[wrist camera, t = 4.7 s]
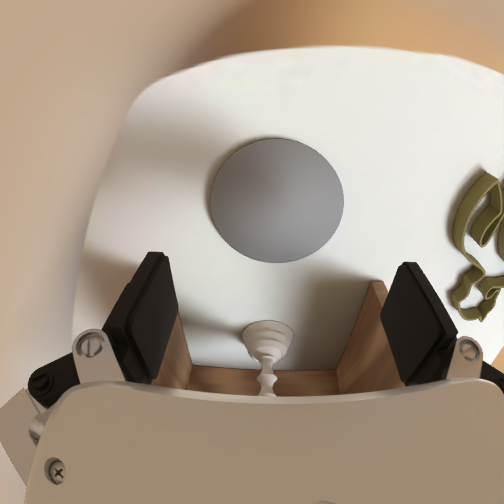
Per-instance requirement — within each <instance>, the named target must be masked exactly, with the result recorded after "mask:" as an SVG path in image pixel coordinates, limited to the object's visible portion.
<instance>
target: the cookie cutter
mask: <svg viewBox="0 0 504 504" xmlns="http://www.w3.org/2000/svg"><path fill="white" fill-rule="evenodd" d="M489 190H490V205H489V206H488V207H487V208H486V209H485V210H484V211H483V212H482V213H481V214H480V215H479V216H478V217H477V219H476V220H475V222H474V224H473V226H472V228H471V237H472V238H473V239H474V240H475V241H476V242H477V243H478V245H479V246H480V247H484V246H486V245H487V243H488V242H489V241H490V239H491V237H492V236H493V234H494V232H495V231H496V229H497V227H498V226H499V224H500V222H501V225H500V229H499V235H498V251H499V254H500V257H501V258H502V259H503V261H504V189H503V190H502V192H501V187H500V183H499V180H498V179H497V178H495V177H494V176H492V175H490V174H489V173H485V174H484V175H483V176H482V177H480V178H479V179H478V180H477V181H476V182H475V183H474V185H473V186H472V187H471V188H470V189H469V191H468V192H467V194H466V195H465V197H464V198H463V200H462V202H461V204H460V206H459V208H458V211H457V213H456V216H455V220H454V224H453V240H454V243H455V245H456V247H457V248H458V249H459V250H460V252H461V253H462V254H463V255H464V256H465V257H466V259H467V260H468V261H469V262H471V263H472V264H473V265H475V267H474V268H473V269H472V270H470V271H469V272H467V273H465V274H464V275H463V277H462V281H461V284H460V286H459V287H458V288H456V289H455V290H453V291H452V292H451V293H452V300H453V303H454V305H455V307H456V309H457V310H458V312H459V314H460V316H461V317H462V318H463V319H465V320H469V321H470V320H476V319H479V320H480V322H482V321H483V320H484V319H485V317H486V316H487V314H488V313H489V312H490V311H491V310H492V309H493V308H494V306H495V303H496V299H497V297H498V295H499V292H500V290H501V289H500V288H504V276H500V277H486V278H484V279H483V280H482V281H481V282H480V284H479V287H478V288H479V290H480V292H481V293H482V295H483V296H484V298H485V299H486V300H485V301H484V302H483V303H481V305H480V307H479V309H477V307H474V308H471V309H461V308H460V302H461V301H463V300H464V299H465V298H466V297H467V296H468V295H469V293H470V290H471V287H472V285H473V284H475V283H477V282H479V281H480V280H481V279H482V278H483V277H484V275H485V269H484V268H483V267H482V266H481V265H480V263H479V262H478V261H477V260H476V259H475V258H474V257H473V256H471V255H470V254H468V253H466V252H465V248H464V236H465V232H466V228H467V225H468V222H469V220H470V218H471V216H472V214H473V212H474V210H475V208H476V207H477V205H478V204H479V202H480V201H481V199H482V198H483V197H484V196H485V194H486V193H487V192H488V191H489ZM501 220H502V221H501Z"/></svg>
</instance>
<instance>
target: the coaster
mask: <svg viewBox="0 0 504 504" xmlns="http://www.w3.org/2000/svg"><path fill="white" fill-rule="evenodd" d="M343 206H344V196H343V190H342V186H341V183H340V180H339V178H338V176H337V174H336V172H335V170H334V169H333V168H332V166H331V165H330V163H329V162H328V161H327V160H326V159H325V158H324V157H323V156H322V155H321V154H319V153H318V152H317V151H316V150H314V149H312V148H311V147H309V146H307V145H305V144H302V143H300V142H296V141H293V140H287V139H266V140H261V141H257V142H254V143H251V144H249V145H247V146H245V147H243V148H241V149H240V150H238V151H236V152H235V153H234V154H233V155H232V156H230V157H229V158H228V160H227V161H226V162H225V163H224V164H223V166H222V167H221V168H220V170H219V172H218V173H217V175H216V177H215V180H214V182H213V185H212V188H211V194H210V210H211V216H212V219H213V222H214V224H215V227H216V229H217V230H218V232H219V234H220V235H221V236H222V238H223V239H224V240H225V241H226V242H227V243H228V244H229V245H230V246H231V247H232V248H233V249H235V250H236V251H238V252H239V253H241V254H243V255H245V256H247V257H249V258H251V259H255V260H258V261H262V262H269V263H284V262H291V261H295V260H299V259H301V258H304V257H306V256H308V255H311V254H312V253H314V252H316V251H317V250H319V249H320V248H321V247H322V246H323V245H325V244H326V243H327V241H328V240H329V239H330V238H331V237H332V235H333V234H334V233H335V231H336V229H337V227H338V225H339V223H340V220H341V217H342V213H343Z"/></svg>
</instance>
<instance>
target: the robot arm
mask: <svg viewBox="0 0 504 504" xmlns="http://www.w3.org/2000/svg"><path fill="white" fill-rule="evenodd" d="M177 314H178V303H177V298H176V293H175V289H174V284H173V279H172V274H171V269H170V263H169V258H168V256H164V253H163V252H148V253H147V255H146V257H145V258H144V260H143V261H142V263H141V265H140V266H139V268H138V270H137V271H136V273H135V275H134V276H133V278H132V280H131V281H130V283H128V284H127V285H126V287H125V288H124V290H123V292H122V294H121V295H120V297H119V299H118V301H117V302H116V304H115V306H114V308H113V310H112V311H111V313H110V315H109V317H108V319H107V321H106V322H105V324H104V326H103V328H102V330H99V329H89V330H86V331H84V332H82V333H81V334H79V335H78V336H77V337H76V339H75V340H74V342H73V345H72V353H70V354H67V355H65V356H63V357H61V358H59V359H57V360H55V361H53V362H51V363H49V364H47V365H45V366H43V367H40V368H38V369H37V370H35V371H34V372H33V373H32V375H31V377H30V378H29V381H28V388H27V389H26V390H25V389H24V388H23V389H21V390H20V391H19V392H18V393H17V394H16V395H15V396H14V397H12V398H11V399H10V400H9V401H8V402H7V403H6V404H5V405H4V406H3V407H1V408H0V441H1V443H2V445H3V447H4V449H5V451H6V453H7V455H8V457H9V458H10V460H11V462H12V464H13V465H14V467H15V469H16V470H17V472H18V474H19V475H20V477H21V478H22V480H23V482H24V483H25V485H26V486H27V488H26V494H25V500H24V504H504V374H503V373H502V372H500V371H498V370H497V369H495V368H494V367H492V366H491V365H489V364H487V363H486V362H484V361H483V352H482V348H481V347H480V345H479V344H478V343H477V341H475V340H474V339H473V338H470V337H468V336H462V337H460V338H459V339H457V337H456V335H457V334H458V331H457V329H456V327H455V325H454V323H453V321H452V319H451V318H450V316H449V314H448V312H447V310H446V309H445V307H444V305H443V303H442V302H441V300H440V298H439V297H438V295H437V293H436V292H435V290H434V288H433V287H432V285H431V284H430V282H429V280H428V279H427V277H426V276H425V274H424V273H423V271H422V270H421V268H420V267H419V265H418V264H417V263H416V262H403V263H402V265H400V266H399V267H398V269H397V272H396V275H395V277H394V280H393V283H392V285H391V288H390V290H389V293H388V295H387V298H386V300H385V303H384V305H383V307H382V310H381V312H380V320H381V323H382V325H383V328H384V331H385V334H386V337H387V339H388V342H389V345H390V348H391V351H392V354H393V357H394V360H395V364H396V367H397V370H398V373H399V377H400V380H401V381H402V382H404V385H405V387H403V388H396V389H390V390H382V391H375V392H366V393H356V394H344V395H329V396H304V397H271V396H244V395H229V394H217V393H207V392H198V391H190V390H182V389H174V388H167V387H160V386H154V385H151V383H152V380H153V379H156V378H157V376H158V373H159V370H160V367H161V363H162V360H163V357H164V354H165V351H166V348H167V344H168V341H169V338H170V335H171V332H172V329H173V326H174V323H175V320H176V317H177Z"/></svg>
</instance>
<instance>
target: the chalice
mask: <svg viewBox="0 0 504 504" xmlns="http://www.w3.org/2000/svg"><path fill="white" fill-rule="evenodd" d="M293 336H294V335H293V332H292V330H291V329H290V328H289V327H288V326H287V325H285V324H283V323H280V322H276V321H259V322H255V323H253V324H250V325H249V326H248V327H246V328H245V329H244V331H243V333H242V339H243V341H244V343H245V346H246V348H247V350H248V353H249V355H250V356H251V357H252V358H253V359H254V360H255V361H257V362H259V363H261V366H262V371H261V374H260V375H259V376H258V377H257V381H258V382H260V385H261V390H260V393H259V394H258V395H257V396H271V397H276V395H275V394H274V392H273V389H272V387H273V383H274V382H275V381H276V380H277V377H276V376H275V375H274V373H273V369H272V367H273V364H274V363H276V362H278V361H280V360H281V359H282V358H283V357H284V356H285V355H286V354H287V350H288V349H289V347H290V343H291V342H292V340H293Z"/></svg>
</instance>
